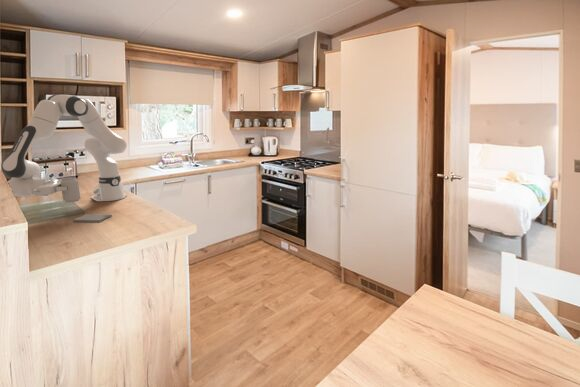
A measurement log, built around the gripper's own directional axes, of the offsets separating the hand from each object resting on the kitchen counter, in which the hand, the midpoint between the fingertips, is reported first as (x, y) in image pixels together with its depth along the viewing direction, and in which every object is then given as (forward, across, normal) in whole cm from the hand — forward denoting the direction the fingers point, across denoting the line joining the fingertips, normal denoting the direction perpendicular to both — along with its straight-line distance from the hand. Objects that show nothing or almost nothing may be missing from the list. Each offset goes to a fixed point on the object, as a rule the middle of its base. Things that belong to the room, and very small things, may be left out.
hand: (71, 186), depth 178 cm
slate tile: (+9, -2, +16) cm, 19 cm away
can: (-1, 0, +8) cm, 8 cm away
